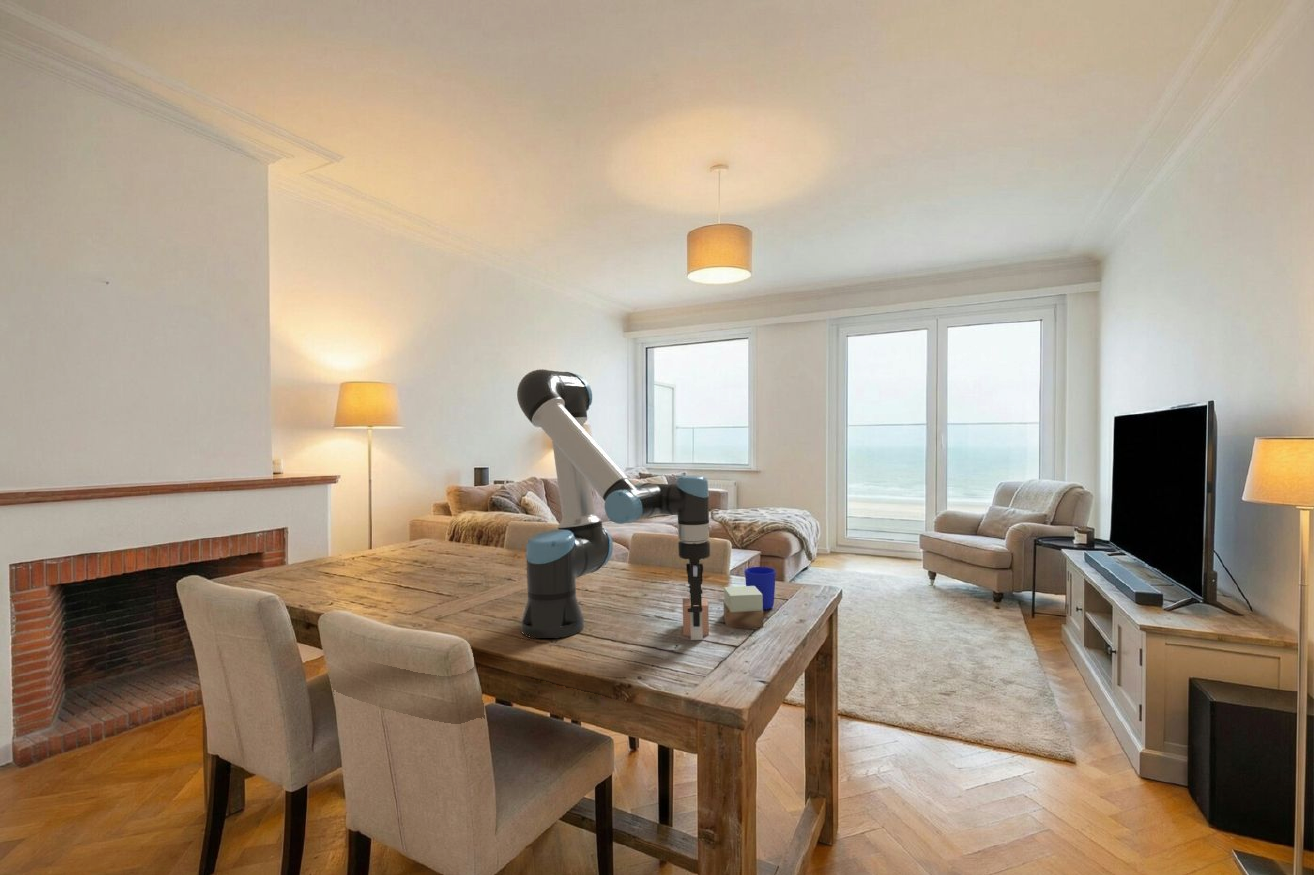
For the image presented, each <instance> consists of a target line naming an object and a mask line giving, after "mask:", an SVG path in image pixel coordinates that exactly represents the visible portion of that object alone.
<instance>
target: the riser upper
mask: <svg viewBox="0 0 1314 875" xmlns="http://www.w3.org/2000/svg"><path fill="white" fill-rule="evenodd" d="M724 603H725V604H726V606H727V608H728V609H729V611H730V612H746V611H763V612H764V610H763V594H762V593H761V592H760V591H759V590H758V589H757V588H756V587H755V586H746V585H745V586H744V585H743V586H742V585H740V586H738V585H737V586H724V587H723V604H724Z"/></svg>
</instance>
